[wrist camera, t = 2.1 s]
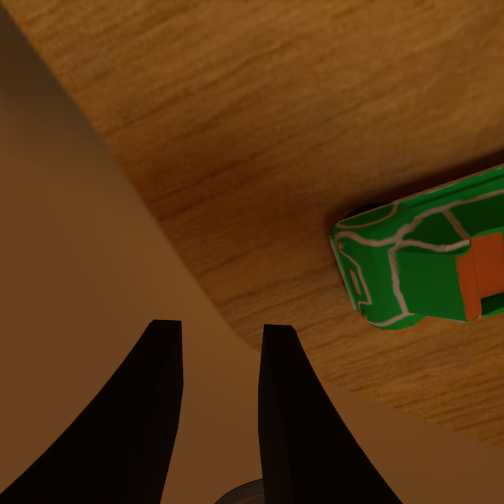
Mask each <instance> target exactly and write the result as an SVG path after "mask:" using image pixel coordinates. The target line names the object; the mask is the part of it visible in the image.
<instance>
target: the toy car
mask: <svg viewBox="0 0 504 504" xmlns="http://www.w3.org/2000/svg"><path fill="white" fill-rule="evenodd" d="M328 237H329V240H330V243H331V246H332V249H333V252H334V254H335V257H336V260H337V263H338V266H339V269H340V272H341V274H342V277H343V280H344V283H345V286H346V289H347V292H348V294H349V297H350V300H351V303H352V306H353V309H354V311H355V310H358V312H359V313H360V315H361V316H362V317H363V320H365V321H366V322H367V323H368V324H370V325H372V326H375V327H377V328H380V329H382V330H399V329H403V328H406V327H410V326H413V325H414V324H416V323H417V322H419V321H420V320H421V319H423V318H424V317H425V316H432V317H439V318H444V319H448V320H452V321H456V322H464V321H466V322H467V321H472V320H475V319H477V318H480V317H481V316H492V315H496V314H499V313H502V312H504V163H503V164H500V165H497V166H494V167H491V168H488V169H485V170H482V171H480V172H477V173H474V174H471V175H468V176H465V177H462V178H459V179H456V180H453V181H450V182H447V183H445V184H442V185H439V186H436V187H433V188H430V189H427V190H424V191H421V192H418V193H415V194H412V195H409V196H407V197H404V198H401V199H398V200H395V201H392V202H391V203H390V204H388V203H375V204H369V205H366V206H363V207H360V208H357V209H356V210H354V211H353V212H351V213H350V214H348V215H347V216H346V217H345V219H344V220H341V221H339V222H338V223H336V224H335V225H334V226H333V229H332V235H329V236H328Z"/></svg>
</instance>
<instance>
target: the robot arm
mask: <svg viewBox="0 0 504 504" xmlns="http://www.w3.org/2000/svg"><path fill="white" fill-rule="evenodd" d="M181 326H182V325H181V321H176V320H153V321H152V322H151V323H149V325H148V326H147V328H146V330H145V331H144V333H143V334H142V336H141V337H140V339H139V340H138V342H137V343H136V345H135V346H134V347H133V349H132V350H131V352H130V353H129V354H128V356H127V357H126V358H125V360H124V361H123V362H122V364H121V365H120V366H119V368H118V369H117V370H116V371H115V373H114V374H113V375H112V376H111V378H110V379H109V380H108V382H107V383H106V384H105V385H104V387H103V388H102V389H101V390H100V391H99V393H98V394H97V395H96V396H95V398H94V399H93V400H92V401H91V402H90V403H89V404H88V405H87V407H86V408H85V409H84V410H83V411H82V412H81V413H80V414H79V416H78V417H77V418H76V419H75V420H74V421H73V422H72V424H71V425H70V426H69V427H68V428H67V429H66V430H65V431H64V432H63V433H62V434H61V436H60V437H59V438H58V439H57V440H56V441H55V442H54V443H53V444H52V445H51V446H50V447H49V448H48V449H47V450H46V451H45V452H44V453H43V454H42V455H41V456H40V457H39V458H38V459H37V460H36V461H35V462H34V463H33V464H32V465H31V466H30V467H29V468H28V469H27V470H26V471H25V472H24V473H23V474H22V475H21V476H20V477H18V478H17V479H16V480H15V481H14V482H13V483H12V484H11V485H10V486H9V487H7V488H6V489H5V490H4V491H3V492H2V493H1V494H0V504H160V502H161V497H162V493H163V489H164V484H165V480H166V476H167V472H168V468H169V464H170V460H171V455H172V451H173V447H174V443H175V438H176V434H177V430H178V424H179V416H180V409H181V401H182V393H183V385H184V384H183V358H182V357H183V356H182V327H181ZM258 435H259V444H260V456H261V465H262V476H263V487H264V497H265V504H403V503H402V502H401V501H400V500H399V498H398V497H397V496H396V495H395V493H394V492H393V491H392V490H391V488H390V487H389V486H388V484H387V483H386V482H385V480H384V479H383V478H382V476H381V475H380V474H379V472H378V471H377V470H376V468H375V467H374V466H373V464H372V463H371V462H370V460H369V459H368V457H367V456H366V455H365V453H364V452H363V450H362V449H361V448H360V446H359V445H358V443H357V442H356V440H355V439H354V437H353V436H352V434H351V433H350V431H349V430H348V428H347V427H346V425H345V423H344V422H343V420H342V419H341V417H340V416H339V414H338V412H337V411H336V409H335V407H334V406H333V404H332V402H331V401H330V399H329V397H328V395H327V394H326V392H325V390H324V388H323V387H322V385H321V383H320V381H319V380H318V378H317V376H316V374H315V372H314V370H313V368H312V366H311V364H310V362H309V360H308V358H307V356H306V354H305V352H304V350H303V348H302V345H301V343H300V341H299V338H298V336H297V333H296V330H295V329H294V328H293V327H292V326H291V325H271V324H264V331H263V341H262V352H261V363H260V374H259V385H258Z"/></svg>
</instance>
